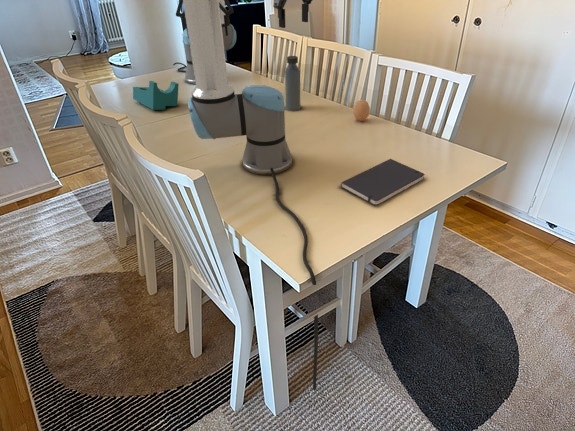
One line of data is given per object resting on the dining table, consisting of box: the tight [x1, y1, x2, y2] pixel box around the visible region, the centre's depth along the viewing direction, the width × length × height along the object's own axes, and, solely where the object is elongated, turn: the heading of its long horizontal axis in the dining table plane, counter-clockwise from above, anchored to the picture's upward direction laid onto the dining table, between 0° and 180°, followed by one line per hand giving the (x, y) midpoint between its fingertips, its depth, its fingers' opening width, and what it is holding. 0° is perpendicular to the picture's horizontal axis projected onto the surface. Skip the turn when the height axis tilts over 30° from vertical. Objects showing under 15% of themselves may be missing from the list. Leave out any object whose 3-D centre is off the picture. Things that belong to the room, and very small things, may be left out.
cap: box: [286, 55, 299, 65], centre depth 153 cm, size 4×4×2 cm
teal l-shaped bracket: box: [132, 80, 179, 111], centre depth 168 cm, size 18×11×10 cm, turn 43°
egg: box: [352, 99, 371, 122], centre depth 149 cm, size 6×6×8 cm
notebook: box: [340, 158, 425, 206], centre depth 114 cm, size 13×2×21 cm
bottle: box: [284, 63, 301, 112], centre depth 158 cm, size 6×6×19 cm
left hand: (293, 24), depth 161 cm, fingers open, 13 cm apart
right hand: (208, 36), depth 147 cm, fingers open, 13 cm apart
